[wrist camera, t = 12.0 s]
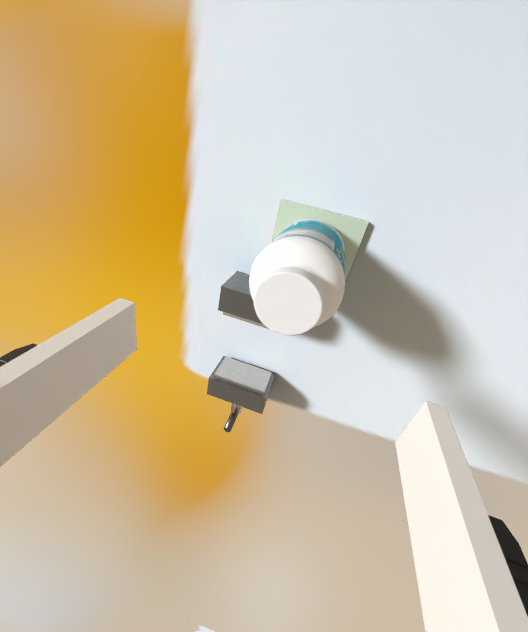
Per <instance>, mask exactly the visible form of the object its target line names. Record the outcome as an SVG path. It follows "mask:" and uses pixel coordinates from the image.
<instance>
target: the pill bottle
mask: <svg viewBox="0 0 528 632" xmlns="http://www.w3.org/2000/svg"><path fill="white" fill-rule="evenodd" d="M249 288H250V293H251V297H252V299H253V302H254V308H255V311H256V314H257V316H258V318H259V319H260V321H261V322H262V323H263V324H264V325H265V326H266V327H268V328H269V329H270V330H272V331H274V332H276V333H279V334H283V335H299V334H302V333H305V332H307V331H309V330H310V329H311V328H313V327H316V326H318V325H320V324H322V323H324V322H325V321H327V320H328V319H329V318H330V317H332V316H333V314H334V313H335V312H336V311H337V309H338V308H339V306H340V304H341V302H342V299H343V296H344V291H345V247H344V243H343V240H342V238H341V236H340V234H339V233H338V232H337V230H336V229H335V228H334V227H332V226H331V225H330V224H328V223H326V222H324V221H322V220H318V219H302V220H298V221H296V222H294V223H292V224H290V225H289V226H288V227H286V228H285V229H284V230H283V231H282V232H281V233H280V234H279V235H278V236H277V237H276V238H275V239H274V240H273V241H272V242H271V243H270V244H269V245H268V246H267V247H266V248H265V249H263V251H262V252H261V253H260V254H259V255H258V256H257V258H256V259H255V261H254V263H253V265H252V268H251V272H250V277H249Z"/></svg>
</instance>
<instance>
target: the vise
mask: <svg viewBox="0 0 528 632" xmlns="http://www.w3.org/2000/svg"><path fill="white" fill-rule="evenodd" d="M249 277H250V275H248V274H245V273H242V272H238V271H237V272H236V273H235V274H234V275H233V276H232V277H231V278H230V279H228V280H227V281H226V282H225V283H224V284H223V285H222V286H221V293H220V300H219V308H218V310H220V311H223V314H224V315H227V316H230V317H233V318H236V319H240V320H243V321H246V322H249V323H252V324H255V325H258V326H261V327H264V328H267V329H269V328H268V327H266V326H265V325H264V324H263V323H262V322H261V321H260V319H259V318H258V316H257V314H256V311H255V308H254V302H253V299H252V297H251V293H250V288H249ZM274 376H275V374H274V373H272V372H270V371H267V370H264V369H261V368H258V367H255V366H252V365H249V364H246V363H243V362H241V361H238V360H235V359H232V358H229V357H225V356H223V358H222V359H221V361H220V362H219V364H218V365H217V367H216V368H215V370H214V371H213V373H212V374H211V376H210V377H209V383H208V390H207V394H209V395H211V396H214V397H217V398H220V399H222V400H225V401H228V402H231V403H232V406H231V411H232V412H231V414H230V417H229V419H228V421H227V423H226V425H225V427H224V430H225V431H226V432H230V431H231V429H232V427H233V424H234V422H235V420H236V417H237V415H238V414H239V413H240V412H241V409H242V407H244V408H247V409H250V410H253V411H255V412H258V413H261V414H262V412H263V409H264V407H265V404H266V401H267V398H268V395H269V392H270V389H271V386H272V383H273V380H274Z"/></svg>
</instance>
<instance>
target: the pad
mask: <svg viewBox="0 0 528 632" xmlns="http://www.w3.org/2000/svg"><path fill="white" fill-rule="evenodd" d="M302 219H318V220H322V221H324V222H326V223H328V224H330V225H331V226H332V227H334V228H335V229H336V230H337V232H338V233H339V234H340V236H341V238H342V240H343V243H344V247H345V282H346V280H347V277H348V275H349V272H350V269H351V267H352V264H353V262H354V259H355V257H356V254H357V251H358V249H359V246H360V244H361V241H362V238H363V236H364V233H365V231H366V228H367V226H368V223H369V222H368V221H365V220H361V219H358V218H354V217H350V216H346V215H342V214H338V213H334V212H331V211H327V210H323V209H319V208H315V207H311V206H307V205H304V204H300V203H296V202H292V201H288V200H284V199H281V201H280V206H279V211H278V215H277V220H276V224H275V229H274V234H273V238H272V241H273V240H274V239H275V238H276V237H277V236H278V235H279V234H280V233H281V232H282V231H283V230H284V229H285V228H286V227H288V226H289V225H290V224H292V223H294V222H296V221H298V220H302Z"/></svg>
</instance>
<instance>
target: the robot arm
mask: <svg viewBox="0 0 528 632" xmlns="http://www.w3.org/2000/svg"><path fill="white" fill-rule="evenodd" d="M135 350H137V339H136V322H135V303H133V302H130V301H127V300H125V299H121V298H119V299H117V300H115V301H114V302H112V303H110V304H109V305H107V306H105V307H103V308H102V309H100V310H98V311H96V312H95V313H93V314H91V315H89V316H88V317H86V318H85V319H83V320H81V321H79V322H77V323H76V324H74V325H72V326H70V327H69V328H67V329H65V330H64V331H62V332H60V333H58V334H57V335H55V336H53V337H52V338H50V339H48V340H46V341H44V342H43V343H41V344H39V345H36V344H31V345H27V346H25V347H21V348H18V349H15V350H13V351H11V352H10V353H8V354H6V355H4V356H2V357H1V358H0V467H1V466H2V465H3V464H4V463H5V462H7V461H8V460H9V459H10V458H11V457H12V456H14V455H15V454H16V453H17V452H18V451H19V450H21V449H22V448H23V447H24V446H25V445H26V444H28V443H29V442H30V441H31V440H32V439H33V438H34V437H36V436H37V435H38V434H39V433H40V432H41V431H43V430H44V429H45V428H46V427H47V426H48V425H49V424H51V423H52V422H53V421H54V420H55V419H57V418H58V417H59V416H60V415H61V414H62V413H63V412H65V411H66V410H67V409H68V408H69V407H70V406H72V405H73V404H74V403H75V402H76V401H77V400H78V399H80V398H81V397H82V396H83V395H84V394H86V393H87V392H88V391H89V390H90V389H91V388H92V387H94V386H95V385H96V384H97V383H98V382H99V381H101V380H102V379H103V378H104V377H105V376H106V375H108V374H109V373H110V372H111V371H112V370H113V369H115V368H116V367H117V366H118V365H119V364H120V363H121V362H123V361H124V360H125V359H126V358H127V357H128V356H129V355H131V354H132V353H133V352H134V351H135ZM395 443H396V449H397V456H398V462H399V468H400V474H401V481H402V487H403V493H404V500H405V506H406V512H407V518H408V524H409V530H410V537H411V543H412V550H413V556H414V561H415V568H416V575H417V581H418V587H419V593H420V600H421V606H422V612H423V618H424V624H425V631H426V632H528V564H527V561H526V559H525V557H524V555H523V552H522V550H521V548H520V546H519V543H518V542H517V541H516V539H515V538H514V536H513V535H512V534H511V532H510V531H509V529H508V528H507V526H506V525H505V524H504V522H503V521H502V520H500V519H497V518H494V517H491V516H489V515H488V514H487V512H486V509H485V507H484V504H483V501H482V499H481V496H480V494H479V491H478V489H477V486H476V484H475V481H474V478H473V476H472V473H471V471H470V468H469V466H468V463H467V460H466V458H465V455H464V453H463V450H462V448H461V445H460V443H459V440H458V437H457V435H456V432H455V430H454V427H453V425H452V422H451V419H450V417H449V414H448V412H447V409H446V408H445V407H442V406H439V405H436V404H433V403H430V402H427V401H426V402H425V403H424V404H423V406H422V407H421V408H420V410H419V411H418V412H417V414H416V415H415V417H414V418H413V419H412V421H411V422H410V423H409V425H408V426H407V427H406V429H405V430H404V431H403V433H402V434H401V435H400V437H399V438H398V439H397V441H396V442H395Z"/></svg>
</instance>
